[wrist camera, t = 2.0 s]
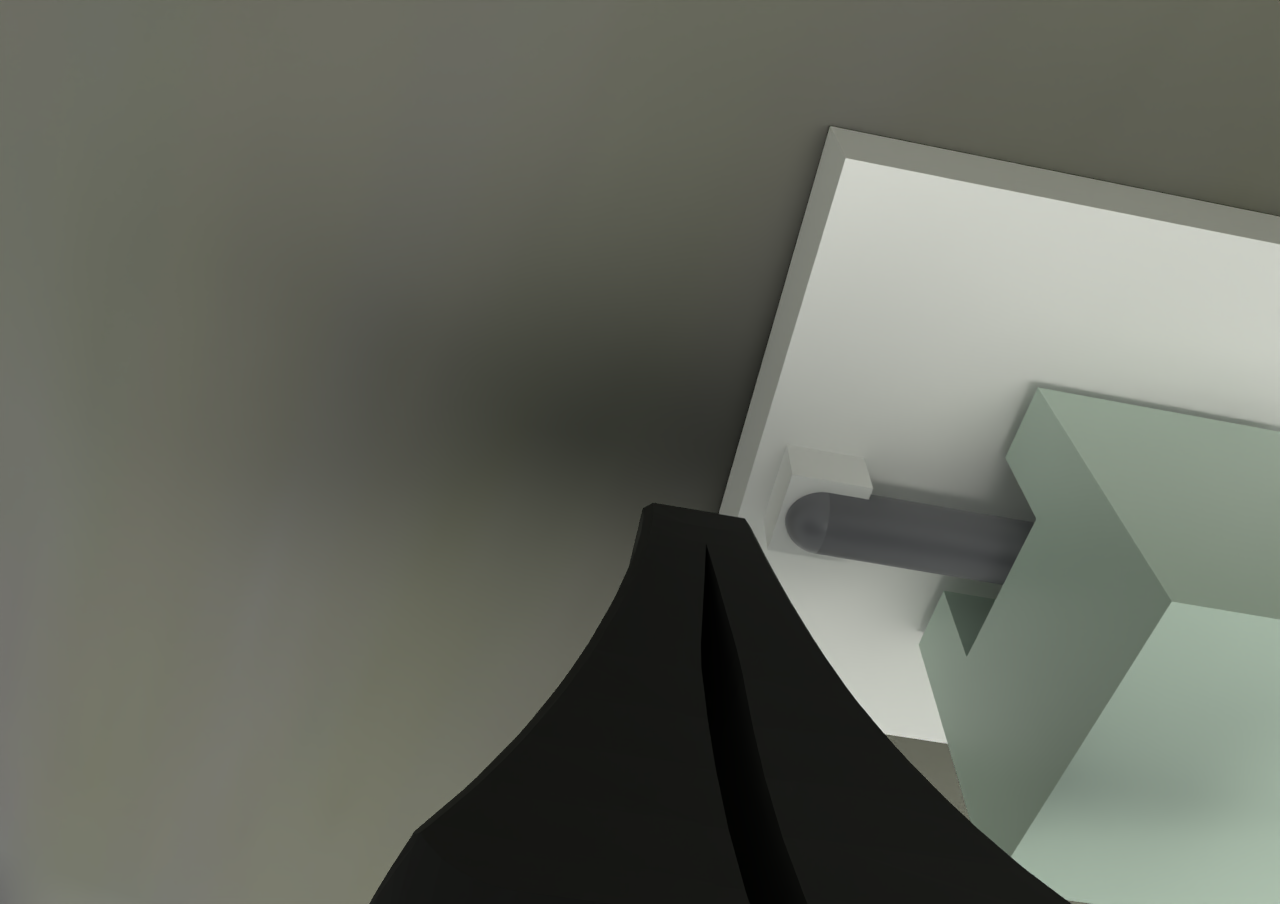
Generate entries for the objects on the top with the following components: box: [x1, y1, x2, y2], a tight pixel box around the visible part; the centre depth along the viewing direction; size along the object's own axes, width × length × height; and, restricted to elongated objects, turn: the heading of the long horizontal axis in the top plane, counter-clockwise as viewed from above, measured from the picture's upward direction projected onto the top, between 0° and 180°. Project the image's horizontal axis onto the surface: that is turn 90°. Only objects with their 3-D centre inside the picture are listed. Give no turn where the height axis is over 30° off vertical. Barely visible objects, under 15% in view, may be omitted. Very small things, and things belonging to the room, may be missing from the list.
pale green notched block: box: [919, 387, 1280, 904], centre depth 14 cm, size 4×5×4 cm
